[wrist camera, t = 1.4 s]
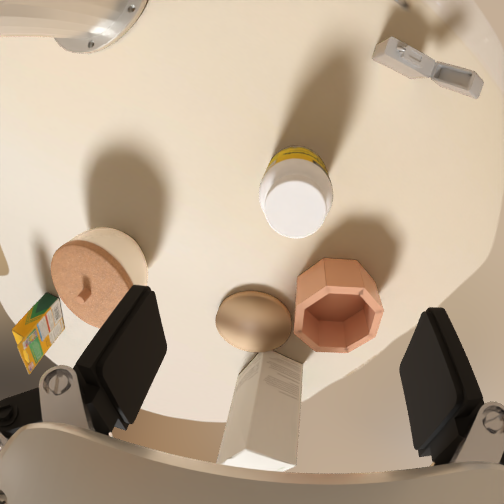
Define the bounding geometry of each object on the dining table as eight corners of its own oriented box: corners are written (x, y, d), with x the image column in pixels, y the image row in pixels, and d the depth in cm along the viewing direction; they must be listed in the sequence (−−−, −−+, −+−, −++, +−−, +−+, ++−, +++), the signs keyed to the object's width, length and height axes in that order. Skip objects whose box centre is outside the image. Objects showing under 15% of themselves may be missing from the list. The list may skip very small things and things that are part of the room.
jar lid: (214, 287, 35) (212, 292, 35) (294, 293, 34) (293, 299, 33) (220, 343, 40) (218, 348, 39) (288, 349, 39) (288, 355, 38)
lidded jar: (78, 212, 33) (29, 249, 25) (154, 213, 32) (110, 257, 24) (97, 285, 38) (60, 329, 30) (167, 295, 37) (137, 348, 29)
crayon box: (46, 291, 41) (3, 336, 31) (59, 297, 41) (17, 346, 31) (52, 322, 45) (16, 367, 35) (65, 328, 45) (30, 375, 35)
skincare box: (273, 391, 44) (259, 483, 30) (234, 374, 43) (210, 469, 29) (305, 362, 40) (299, 467, 26) (263, 343, 39) (243, 451, 25)
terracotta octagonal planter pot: (299, 256, 32) (298, 284, 28) (379, 261, 31) (389, 289, 27) (293, 319, 36) (291, 350, 32) (364, 323, 35) (369, 353, 31)
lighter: (371, 59, 22) (398, 47, 15) (377, 43, 21) (405, 26, 14) (438, 95, 22) (481, 100, 15) (443, 80, 21) (488, 81, 14)
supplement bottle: (337, 163, 27) (354, 197, 18) (307, 210, 29) (309, 263, 21) (284, 133, 26) (277, 153, 18) (257, 183, 29) (238, 225, 20)
